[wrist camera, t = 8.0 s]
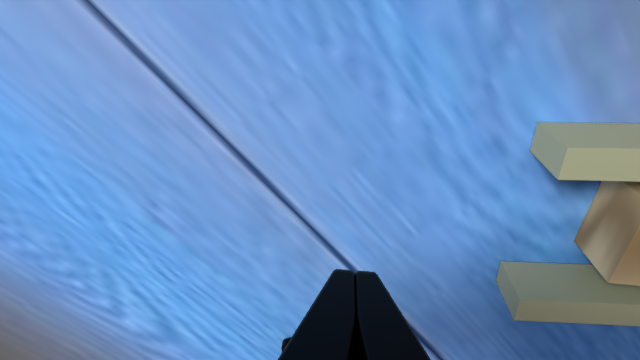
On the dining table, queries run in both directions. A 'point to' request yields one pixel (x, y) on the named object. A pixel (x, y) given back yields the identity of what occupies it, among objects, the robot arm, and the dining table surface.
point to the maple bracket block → (613, 232)
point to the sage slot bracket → (576, 279)
